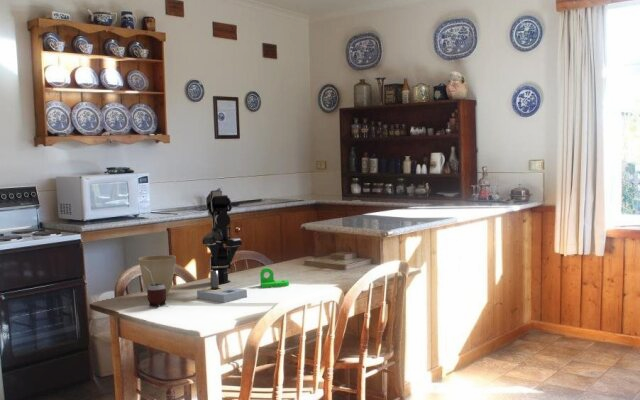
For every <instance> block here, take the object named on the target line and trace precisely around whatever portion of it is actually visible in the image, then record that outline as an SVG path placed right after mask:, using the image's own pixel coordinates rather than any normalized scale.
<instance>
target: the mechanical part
mask: <svg viewBox="0 0 640 400" xmlns="http://www.w3.org/2000/svg"><path fill="white" fill-rule="evenodd" d="M273 271H274V270H272V269H271V268H270V267H263V268H262V269H261V270H260V276H259V277H260V278H259V279H260V287H261V288H262V289H271V287H273V288H284V287H289V286H290V281H289V279H284V280H283V279H281V280H275V279H274V278H275V277H274V272H273ZM266 273H269V276H268V277H266V276H265V274H266Z"/></svg>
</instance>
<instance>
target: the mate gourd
mask: <svg viewBox="0 0 640 400" xmlns="http://www.w3.org/2000/svg"><path fill="white" fill-rule="evenodd" d="M144 268H145V269H146V270H147V271H148V272H149V275H150V277H151V280H152V283H153V284H151V285H149V287H148V291H147V290H146V291H147V292H146V293H147V300H148V307H156V308H159V307H160V306H166V305H167V303H166V299H167V296H166V289H165V286H164V285H163V284H154V281H153V278H152V275H151V272H150V271H149V270H148V269H147V268H146V267H145V266H144Z"/></svg>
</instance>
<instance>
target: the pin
mask: <svg viewBox="0 0 640 400" xmlns="http://www.w3.org/2000/svg"><path fill="white" fill-rule="evenodd" d="M209 272H210V273H209V274H210V275H209V276H210V288H211V290H218V289H219V286H220V284H219V281H218V270H211V269H210V270H209Z"/></svg>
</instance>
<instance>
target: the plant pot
mask: <svg viewBox="0 0 640 400" xmlns="http://www.w3.org/2000/svg"><path fill="white" fill-rule="evenodd" d="M176 259H177V257H176V256H175V255H170V254H169V255H168V254H166V255H165V254H159V255H157V254H156V255H145V256H141V257H139V258H138V263H139V269H140V273H141V276H142V280H143V283H144V286H145V289H146V291H148V287H149V285H151V284H153V283H152V280H151V277H150V275H149V272H148V271H147V270H146V269H145V268H144V266H145V267H146V268H147V269H148V270H149V271H150V272H151V275H152V278H153V281H154V284H163V285H164V286H165V289H166V297H167V296H168V295H169V292H170V289H171V287H172V282H173V279H174V273H175V269H176V268H175V267H176Z"/></svg>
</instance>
